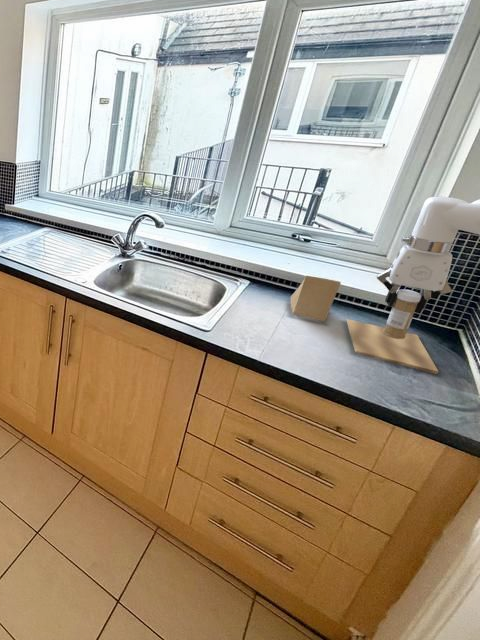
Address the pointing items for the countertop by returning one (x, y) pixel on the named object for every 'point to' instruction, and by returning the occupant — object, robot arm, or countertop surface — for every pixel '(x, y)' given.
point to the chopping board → (390, 346)
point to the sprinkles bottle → (401, 313)
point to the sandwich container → (314, 297)
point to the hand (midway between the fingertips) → (402, 307)
